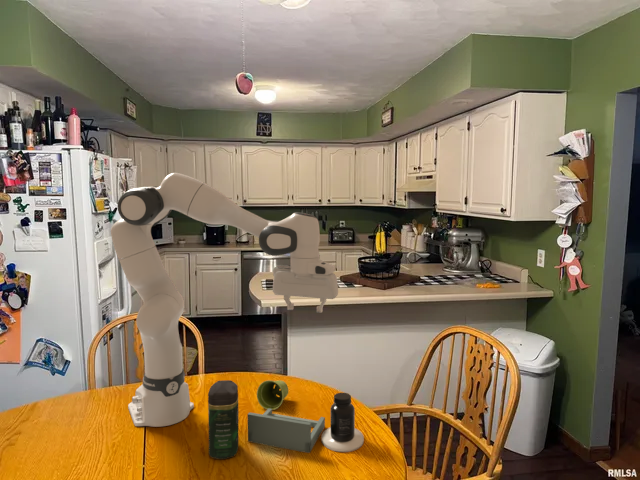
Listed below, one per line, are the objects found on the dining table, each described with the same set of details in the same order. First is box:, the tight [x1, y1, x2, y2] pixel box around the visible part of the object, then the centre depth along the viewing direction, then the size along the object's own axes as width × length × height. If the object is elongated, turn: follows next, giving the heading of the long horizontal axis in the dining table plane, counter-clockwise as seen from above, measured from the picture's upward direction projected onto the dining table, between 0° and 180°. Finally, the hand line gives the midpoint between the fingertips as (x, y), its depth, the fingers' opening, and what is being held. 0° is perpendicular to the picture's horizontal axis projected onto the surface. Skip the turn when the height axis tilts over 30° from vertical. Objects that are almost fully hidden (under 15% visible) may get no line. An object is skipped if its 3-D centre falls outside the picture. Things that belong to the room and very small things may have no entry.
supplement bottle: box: [330, 392, 356, 442], centre depth 125 cm, size 7×7×12 cm
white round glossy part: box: [320, 426, 365, 453], centre depth 126 cm, size 12×12×1 cm
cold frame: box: [247, 408, 326, 454], centre depth 128 cm, size 14×18×8 cm
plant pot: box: [256, 379, 289, 411], centre depth 147 cm, size 9×9×9 cm
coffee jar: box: [207, 379, 240, 460], centre depth 119 cm, size 10×8×19 cm
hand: (304, 310), depth 135 cm, fingers open, 8 cm apart
